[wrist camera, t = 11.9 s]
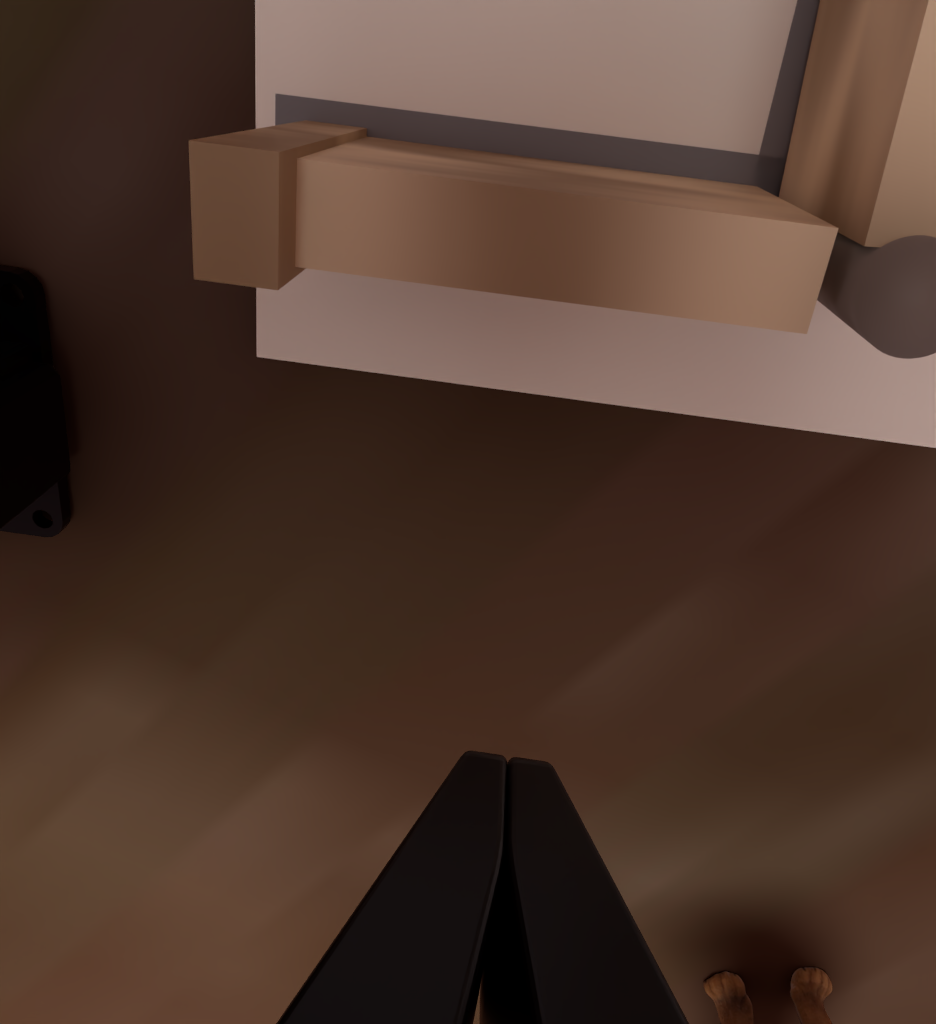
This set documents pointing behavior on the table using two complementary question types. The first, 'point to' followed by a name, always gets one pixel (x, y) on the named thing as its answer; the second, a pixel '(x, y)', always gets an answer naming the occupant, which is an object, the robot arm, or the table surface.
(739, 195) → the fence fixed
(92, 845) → the table surface
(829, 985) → the lion figurine
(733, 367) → the board
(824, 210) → the brown tall flat block
